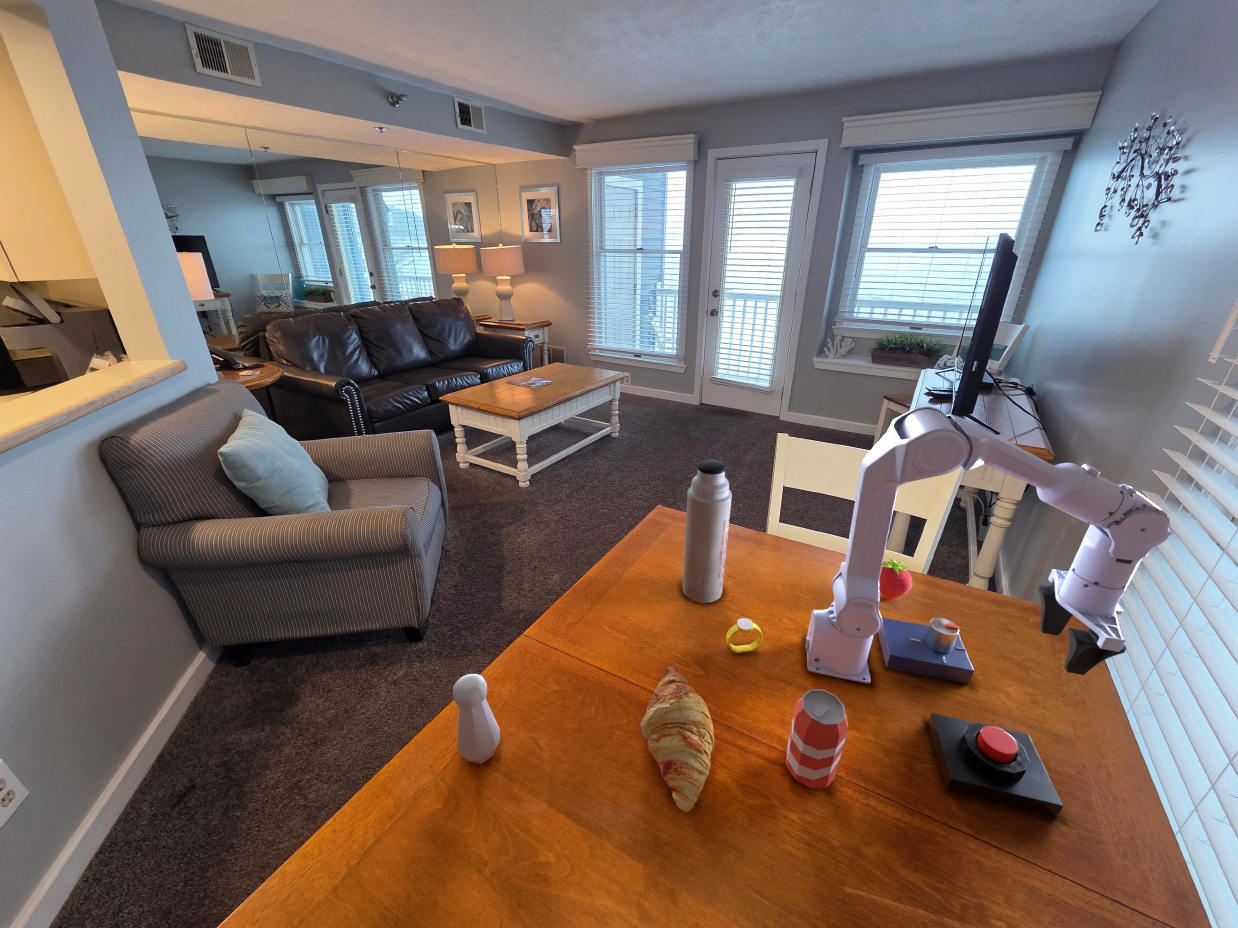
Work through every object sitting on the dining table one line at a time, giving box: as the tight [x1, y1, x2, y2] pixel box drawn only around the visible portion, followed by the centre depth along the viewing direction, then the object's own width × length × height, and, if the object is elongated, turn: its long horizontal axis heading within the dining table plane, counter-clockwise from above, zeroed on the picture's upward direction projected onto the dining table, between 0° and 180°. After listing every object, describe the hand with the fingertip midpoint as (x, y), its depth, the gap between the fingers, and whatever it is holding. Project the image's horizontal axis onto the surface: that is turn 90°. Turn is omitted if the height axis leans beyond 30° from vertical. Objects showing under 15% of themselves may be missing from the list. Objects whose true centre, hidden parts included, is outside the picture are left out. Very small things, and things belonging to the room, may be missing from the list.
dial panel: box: [877, 617, 975, 685], centre depth 84 cm, size 12×9×3 cm
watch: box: [725, 617, 764, 654], centre depth 85 cm, size 6×3×6 cm, turn 95°
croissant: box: [639, 666, 715, 813], centre depth 70 cm, size 21×10×8 cm, turn 1°
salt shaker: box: [452, 673, 501, 765], centre depth 67 cm, size 6×6×13 cm
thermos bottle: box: [681, 459, 733, 604], centre depth 95 cm, size 8×8×28 cm
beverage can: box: [785, 688, 849, 789], centre depth 65 cm, size 6×6×12 cm
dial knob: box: [925, 617, 960, 653], centre depth 82 cm, size 4×4×4 cm
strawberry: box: [879, 556, 913, 601], centre depth 96 cm, size 6×8×10 cm
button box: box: [927, 712, 1064, 818], centre depth 67 cm, size 12×10×4 cm
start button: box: [977, 726, 1018, 763], centre depth 66 cm, size 4×4×2 cm
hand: (1061, 651), depth 72 cm, fingers open, 7 cm apart
